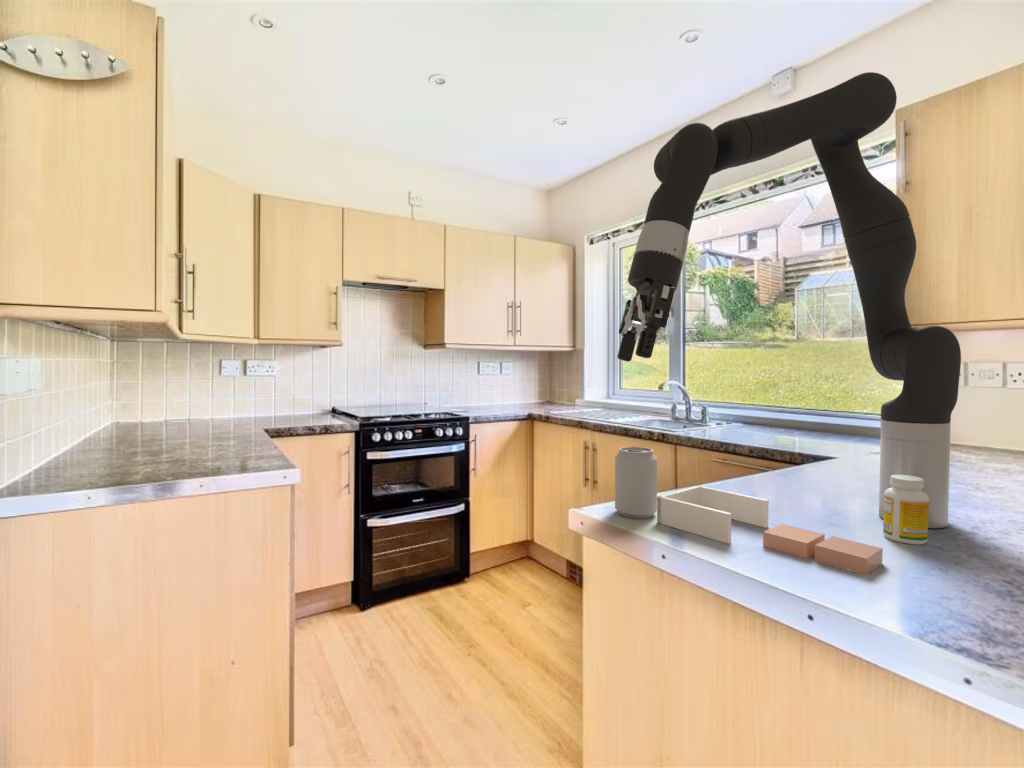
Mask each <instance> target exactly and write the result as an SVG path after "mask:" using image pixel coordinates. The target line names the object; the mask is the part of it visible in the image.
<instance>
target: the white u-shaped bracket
mask: <svg viewBox="0 0 1024 768" xmlns="http://www.w3.org/2000/svg"><path fill="white" fill-rule="evenodd" d="M769 506H770V505H769V499H765V498H761V497H755V496H751V495H745V494H743V493H742V494H741V493H736V492H733V491H732V492H731V491H727V490H722V489H717V488H712V487H708V486H705V485H704V486H703V485H699V484H698V485H696V486H692V487H687V488H685V489H684V488H683V489H680V490H677V491H674V492H669V493H665V494H662V495H657V511H656V522H657V524H661V525H664V526H667V527H672V528H675V529H679V530H681V531H684V532H688V533H691V534H695V535H698V536H701V537H705V538H708V539H711V540H715V541H718V542H721V543H724V544H728V545H730V543H732V520H733V519H734V520H735V521H738V522H743V523H746V524H749V525H754V526H757V527H761V528H769Z"/></svg>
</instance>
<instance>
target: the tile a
mask: <svg viewBox="0 0 1024 768" xmlns="http://www.w3.org/2000/svg"><path fill="white" fill-rule="evenodd" d="M762 535H763V536H762V547H766V548H769V549H773V550H775V549H776V551H780V552H782V551H783V553H786V554H790V555H794V556H797V557H800V558H804V559H808V557H809V558H810V557H813V556H815V545H816V544H818V543H820V542H822V541H824V540H826V539H825V533H822V532H817V531H813V530H809V529H804V528H800V527H798V526H793V525H789V524H784V523H780V524H777V525H776V526H774V527H771V528H769V529H767V530H764V531H763V532H762Z"/></svg>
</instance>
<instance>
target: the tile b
mask: <svg viewBox="0 0 1024 768" xmlns="http://www.w3.org/2000/svg"><path fill="white" fill-rule="evenodd" d="M883 550H884V549H883V547H880V546H879V547H878V546H874V545H871V544H866V543H863V542H858V541H854V540H850V539H847V538H843V537H837V536H834V535H832V536H830V537H828V538H826V539H825V540H824V541H822V542H820V543H818V544H816V545H815V554H814V561H815V562H818V563H821V564H824V563H825V564H824V565H828V564H829V566H831V565H832V567H835V566H837V567H836V568H838V567H840V568H839V569H842V568H844V569H843V570H845V569H849V570H852V571H855V572H854V573H856V572H858V573H857V574H859V573H861V574H860V575H863V574H865V575H864V576H867V575H869V574H870V573H871V571H872V570H873V569H874V570H875V568H876V567H877V568H879V567H880V566H881V565H883V552H884V551H883ZM880 564H881V565H880ZM879 565H880V566H879ZM878 566H879V567H878ZM877 568H876V569H877ZM849 570H848V571H849ZM874 570H873V571H874ZM852 571H851V572H852ZM873 571H872V572H873ZM869 572H870V573H869ZM868 573H869V574H868Z"/></svg>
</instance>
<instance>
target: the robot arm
mask: <svg viewBox="0 0 1024 768" xmlns="http://www.w3.org/2000/svg"><path fill="white" fill-rule="evenodd" d="M896 106H897V92H896V88H895V86H894V84H893V83H892V81H891V80H890V79H889V78H888V77H886V76H885V75H883V74H881V73H879V72H873V71H871V72H870V71H869V72H868V71H866V72H863V73H860V74H858V75H855V76H853V77H851V78H849V79H848V80H846V81H843V82H841V83H839V84H837V85H835V86H833V87H831V88H829V89H828V88H827V89H825V90H824V91H821V92H818V93H816V94H813V95H810V96H808V97H805V98H802V99H799V100H797V101H793V102H790V103H787V104H784V105H781V106H778V107H775V108H771V109H770V108H769V109H767V110H763V111H759V112H755V113H751V114H747V115H743V116H740V117H736V118H732V119H729V120H726V121H724V122H722V123H720V124H719V125H717V126H716V127H714V128H711V127H710V126H709V125H707V124H705V123H703V122H702V123H701V122H694V123H689V124H686V125H685V126H683V127H682V128H680V129H679V130H678V131H677V132H676V133H675V134H674V135H673V136H672V137H671V138H670V139H669V140H668V141H667V142H666V143H665V144H664V145H663V146H662V147H661V148H660V149H659V150H658V152H657V154H656V156H655V158H654V162H653V171H654V175H655V177H656V178H657V180H658V181H659V182H660V185H659V186H658V187H657V189H656V190H655V192H654V193H653V195H652V196H651V198H650V201H649V204H648V206H647V211H646V213H645V218H644V222H643V226H642V229H641V231H640V233H639V236H638V239H637V242H636V247H635V251H634V253H633V257H632V262H631V265H630V269H629V273H628V277H627V282H628V284H629V285H630V286H631V287H632V288H635V290H636V292H635V296H633V297H632V298H631V299H630V298H628V299H627V300H626V305H625V309H624V311H623V315H622V317H621V318H622V319H621V322H620V326H619V328H618V334H619V335H620V336H621V341H620V345H619V349H618V352H617V359H618V360H619V361H624V362H631V361H632V359H633V357H634V356H633V355H634V354H635V355H636V356H637V357H640V358H644V359H649V358H651V357H652V354H653V351H654V348H655V347H654V346H655V343H656V339H657V334H660V332H661V330H662V328H664V329H665V328H666V327H667V324H668V322H669V321H668V320H669V316H670V313H671V312H670V311H671V307H672V302H673V298H674V294H675V292H676V291H677V289H678V285H679V281H680V278H681V273H682V269H683V266H684V262H685V257H686V255H687V251H688V245H689V236H690V232H691V228H692V223H693V220H694V216H695V210H696V207H697V205H698V202H699V200H700V198H701V196H702V194H703V192H704V191H705V188H706V187H707V183H708V182H709V179H710V177H711V176H713V175H714V174H717V173H719V172H722V171H724V170H727V169H732V168H736V167H741V166H743V165H744V166H745V165H747V164H751V163H755V162H759V161H761V160H765V159H767V158H769V157H772V156H774V155H778V154H780V153H781V152H783V151H786V150H788V149H790V148H793V147H795V146H797V145H800V144H802V143H804V142H807V141H809V140H810V141H811V144H812V148H813V150H814V152H815V154H816V157H817V159H818V162H819V164H820V167H821V170H822V171H823V174H824V177H825V180H826V183H827V184H828V187H829V189H830V193H831V197H832V199H833V203H834V205H835V206H834V207H835V209H836V212H837V216H838V219H839V224H840V227H841V233H842V236H843V237H842V238H843V241H844V243H845V247H846V251H847V255H848V258H849V261H850V264H851V267H852V270H853V273H854V278H855V281H856V283H855V284H856V286H857V290H858V294H859V295H858V296H859V299H860V303H861V307H862V312H863V318H864V327H865V333H866V340H867V345H868V346H867V347H868V352H869V357H870V361H871V363H872V366H873V368H874V369H875V370H876V372H877V373H878V374H879V375H880V376H881V377H883V378H884V379H887V380H891V381H901V382H903V384H902V390H901V392H900V393H899V395H898V396H896V397H895V398H893V399H891V400H888V401H886V402H884V403H882V405H881V407H880V440H879V443H880V444H879V445H880V446H879V447H880V448H879V449H880V451H879V452H880V454H879V490H878V491H879V493H878V516H879V517H880V518H882V519H883V517H884V493H885V491H886V490H887V489H888V488H892V485H891V483H890V477H891V475H908V476H915V477H919V478H922V479H924V487H923V489H921V491H922V492H924V493H926V494H927V496H928V497H929V514H928V529H942V528H947V527H948V526H949V502H950V469H951V468H950V465H951V461H950V460H951V423H952V422H951V418H952V413H953V410H954V409H955V407H956V405H957V403H958V402H957V401H958V397H959V396H958V395H959V386H960V375H961V365H962V353H961V346H960V343H959V339H958V338H957V336H956V335H955V334H954V333H953V332H952V330H950V329H948V327H947V328H946V327H944V326H940V325H925V326H924V325H923V326H913V327H912V325H911V323H910V319H909V316H908V312H907V307H906V299H905V298H906V297H905V296H906V288H907V285H908V281H909V278H910V275H911V272H912V268H913V264H914V262H915V259H916V253H917V240H916V235H915V232H914V226H913V223H912V220H911V216H910V211H909V209H908V207H907V206H906V204H905V202H904V201H903V200H902V199H901V198H900V197H899V196H898V195H897V194H895V193H894V192H893V191H892V190H890V188H888V187H887V186H886V185H884V184H883V183H882V182H880V181H879V180H878V179H877V178H875V177H874V176H873V175H872V173H871V172H870V171H869V169H868V168H867V166H866V164H865V162H864V158H863V156H862V153H861V150H860V149H861V148H860V146H859V140H860V139H863V138H864V137H866V136H867V135H869V134H871V133H872V132H874V131H875V130H877V129H878V128H880V127H881V126H883V125H884V124H885V123H886V122H887V121H888V120H889V119H890V118H891V116H892V114H893V113H894V111H895V109H896ZM630 327H631V328H630ZM637 339H638V341H637ZM634 351H635V353H634Z"/></svg>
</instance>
